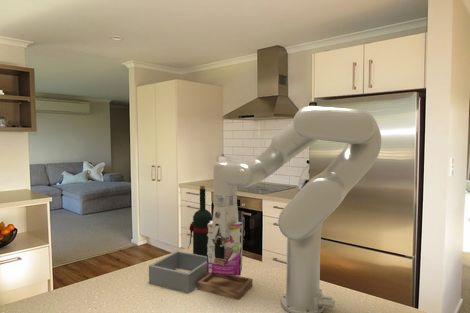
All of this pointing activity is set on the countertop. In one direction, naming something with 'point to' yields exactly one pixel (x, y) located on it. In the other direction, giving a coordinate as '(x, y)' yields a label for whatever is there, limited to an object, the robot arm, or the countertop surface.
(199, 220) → the wine bottle
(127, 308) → the countertop surface
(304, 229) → the robot arm
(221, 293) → the walnut tray
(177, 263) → the deep bin
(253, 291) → the countertop surface
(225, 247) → the candy bar box
